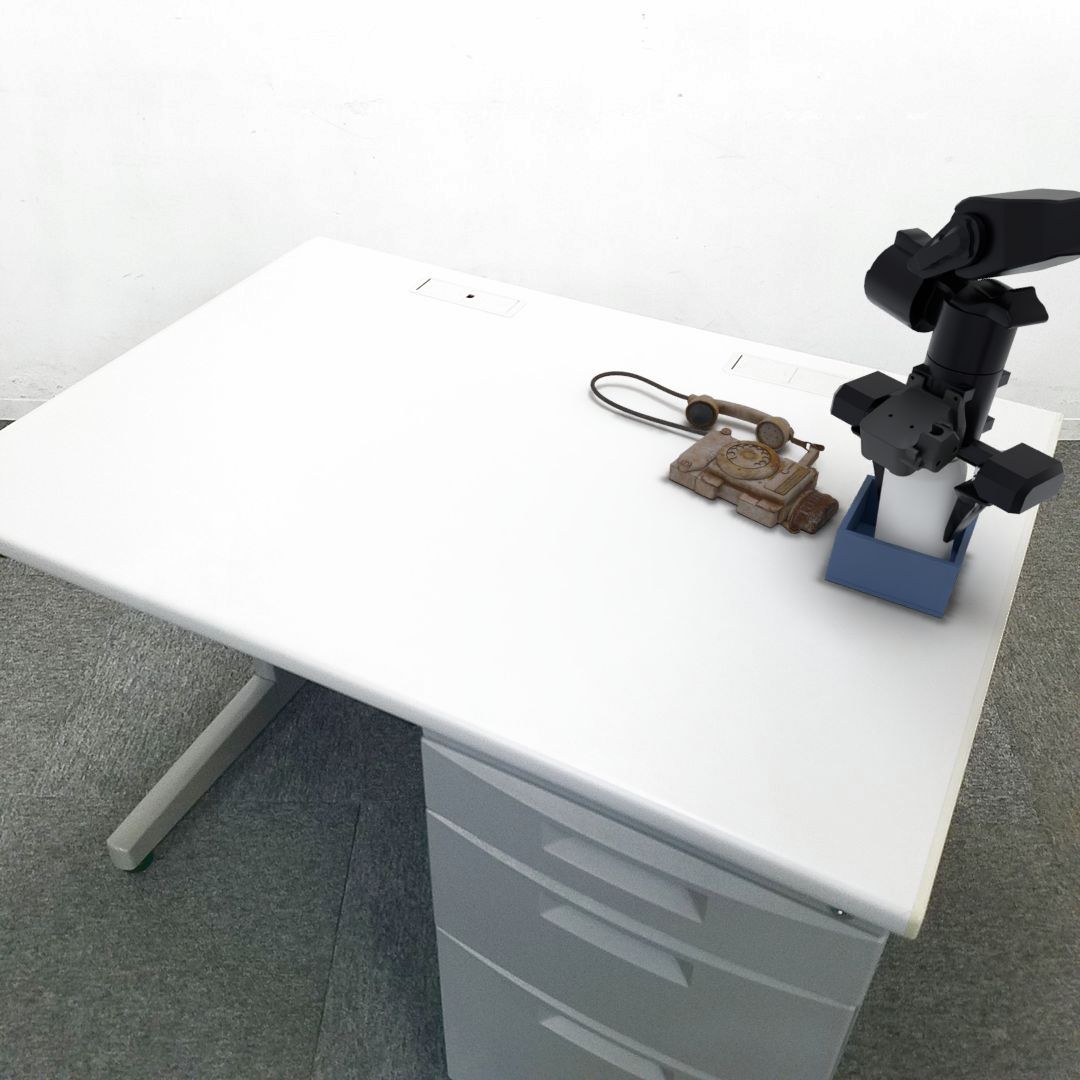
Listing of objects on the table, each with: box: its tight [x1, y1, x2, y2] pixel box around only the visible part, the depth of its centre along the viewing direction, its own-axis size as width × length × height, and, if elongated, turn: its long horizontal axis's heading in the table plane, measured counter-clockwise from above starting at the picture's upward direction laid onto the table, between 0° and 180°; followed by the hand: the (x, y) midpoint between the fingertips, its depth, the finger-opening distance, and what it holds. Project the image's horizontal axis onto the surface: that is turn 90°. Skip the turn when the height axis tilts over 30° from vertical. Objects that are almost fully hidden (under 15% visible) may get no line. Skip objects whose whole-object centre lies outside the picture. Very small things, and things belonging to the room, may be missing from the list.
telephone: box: [589, 370, 840, 534], centre depth 102 cm, size 15×33×4 cm, turn 49°
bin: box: [824, 473, 980, 619], centre depth 86 cm, size 10×10×6 cm
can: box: [874, 457, 969, 561], centre depth 83 cm, size 6×6×12 cm
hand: (914, 520), depth 84 cm, fingers closed on can, 6 cm apart
